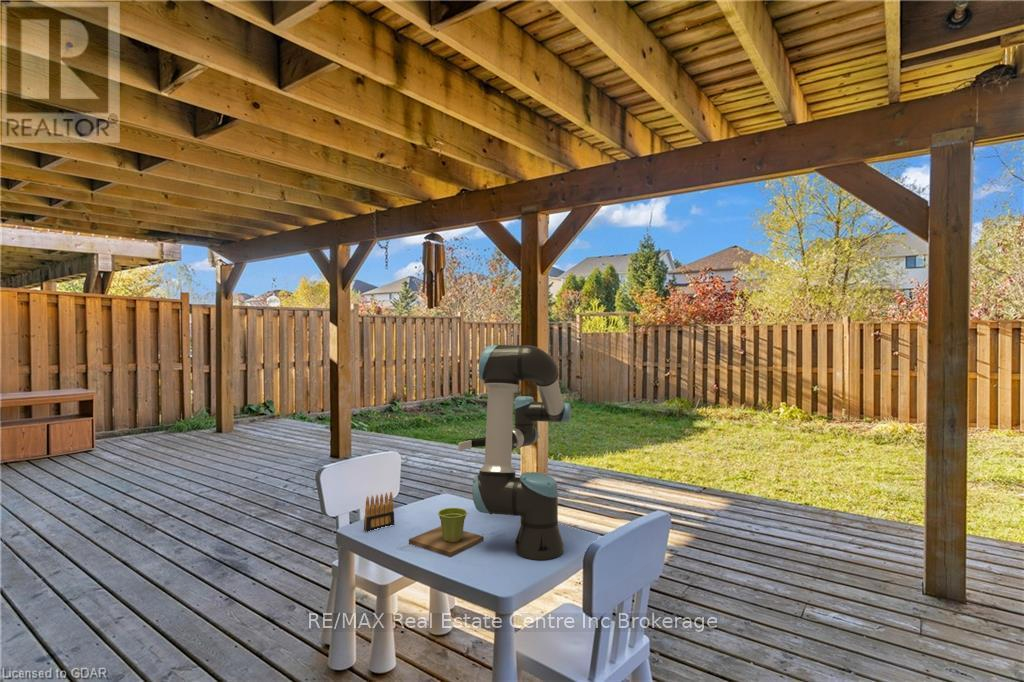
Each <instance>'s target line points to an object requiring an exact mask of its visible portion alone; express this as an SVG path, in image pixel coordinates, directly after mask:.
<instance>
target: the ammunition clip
mask: <svg viewBox="0 0 1024 682" xmlns="http://www.w3.org/2000/svg"><path fill="white" fill-rule="evenodd" d="M388 495H389V497H388ZM393 497H394V495H393V492H392V491H390V492H389V494H388V492H385V494H384V495H383V493H380V496H379V495H378V494H376V495H375V498H374V495H371V497H370V498H369V496H367V497H366V499H365V507H364V509H365V510H364V519H363V520H364V521H363V522H364V524H363V531H364V530H365V531H370V530H374V529H377V528H381V527H385V526H390V525H394V526H395V511H394V499H393ZM365 531H364V532H365ZM374 531H375V530H374ZM370 532H371V531H370Z"/></svg>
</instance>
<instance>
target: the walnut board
mask: <svg viewBox="0 0 1024 682" xmlns="http://www.w3.org/2000/svg"><path fill="white" fill-rule="evenodd" d="M484 539H485V538H484V535H480V534H477V533H472V532H469V531H465V530H463V534H462V539H460V540H459V541H457V542H449V541H444V540H443V536H442V527H441V525H440V526H437V527H436V528H435V527H434V528H433V529H431V530H428V531H425V532H422V533H420V534H417V535H416V536H414V537H410V538H409V539H408V544H409V545H411V544H412V545H411V546H414V545H415V546H414V547H417V546H418V548H420V547H421V549H423V548H424V550H426V549H427V551H430V552H433V553H435V554H439V555H443V556H445V557H449V558H452V557H454V556H455V555H456V556H457V555H458V554H461V553H462V552H464V551H465V550H468V549H470V548H471V547H473V546H476V545H478V544H481V543H482V542H484Z"/></svg>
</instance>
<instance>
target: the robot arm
mask: <svg viewBox="0 0 1024 682" xmlns="http://www.w3.org/2000/svg"><path fill="white" fill-rule="evenodd" d="M559 372H560V371H559V368H558V366H557V363H556V362H555V360H554V358H553V357H552V356H550V355H549V354H548V353H547V352H546V351H545V350H543V349H542V348H539V347H537V346H534V345H530V344H529V345H528V344H525V345H524V344H523V345H521V344H520V345H518V344H494V345H487V346H485V348H484V349H483V350H482V352H481V355H480V357H479V363H478V376H479V378H480V380H482V381H483V386H484V387H485V388H486V390H487V405H486V407H487V408H486V427H485V428H486V429H485V436H484V437H476V438H475V437H474V438H466V439H465V441H461V442H458V443H457V451H459V452H462V451H465V450H471V449H472V448H480V447H483V448H484V464H483V466H481V467H480V468H479V470H478V471H479V473H478V474H476V475H474V477H473V480H472V487H471V488H472V489H471V490H472V493H471V494H472V500H473V505H474V507H475V509H476V510H477V512H479V513H481V514H489V515H501V516H502V515H503V516H516V517H517V516H519V517H520V526H519V529H518V532H517V534H516V538H515V542H514V552H515V553H516V554H517V555H518V556H519V557H522V558H524V559H529V560H536V561H544V560H553V559H555V557H556V558H559V557H560V556H561V555H562V554H563V553H564V541H563V539H562V536H561V532H560V528H559V524H558V523H559V521H558V519H559V517H558V515H559V512H558V511H559V509H558V508H559V505H558V503H559V499H558V498H559V489H558V482H557V480H556V479H555V478H554V477H552V476H551V475H548V474H545V473H543V472H542V473H541V472H535V471H529V472H527V471H526V472H522V473H521V474H520V476H519V477H517V476H516V470H515V469H514V467H513V466H512V454H513V453H512V451H516V449H519V448H524V447H528V446H530V445H533V444H535V443H536V442H537V441H538V439H539V431H538V429H537V428H536V427H535V426H534V423H535V422H550V423H568V422H570V421H571V416H572V408H571V403H569V402H565V401H564V400H563V395H562V392H561V388H560V385H559V380H558V378H559ZM521 381H530V382H531V381H532V383H533V384H534V385H535V386H536V388H537V390H538V394H539V396H540V399H541V401H535V400H534V397H533V396H527V395H526V396H525V395H524V396H523V395H522V396H521V395H520V396H517V397H515V391H516V390H517V389H518V388H520V387H519V386H520V382H521ZM514 398H515V399H514ZM513 424H514V425H513ZM513 426H514V428H513ZM552 558H553V559H552Z"/></svg>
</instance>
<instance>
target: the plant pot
mask: <svg viewBox="0 0 1024 682" xmlns="http://www.w3.org/2000/svg"><path fill="white" fill-rule="evenodd" d="M467 514H468V511H467V510H466V509H464V508H460V507H445V508H442V509H440V510H438V512H437V515H438V516H439V519H440V526H441V527H442V536H443V540H444V541H449V542H457V541H459V540H460V539H462V534H463V531H464V528H465V527H464V525H465V520H466V517H467Z"/></svg>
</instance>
